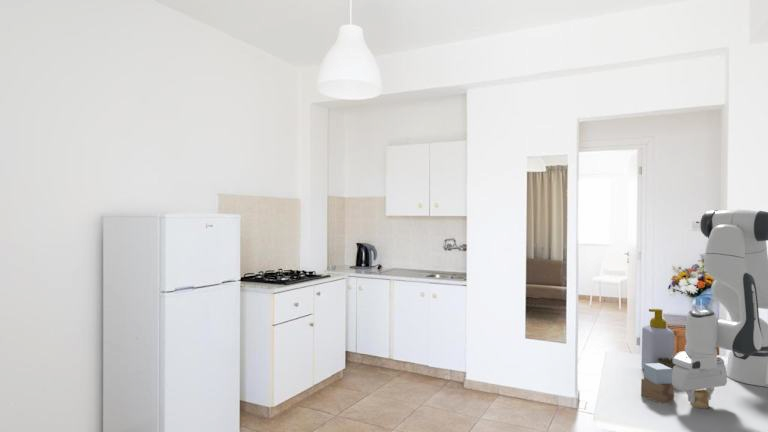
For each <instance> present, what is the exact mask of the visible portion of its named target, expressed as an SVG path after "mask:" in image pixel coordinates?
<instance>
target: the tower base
mask: <svg viewBox="0 0 768 432" xmlns="http://www.w3.org/2000/svg"><path fill="white" fill-rule="evenodd" d="M640 386H641V387H640V396H641V397H644V398H646V399H649V400H652V401H654V402H657V403H659V404H663V403H666V402H667V403H668V402H670V401H674V399H675V388H674V387H673V385H672V383H670V384H655V383H653V382H651V381H649V380H647V379H645V378H644V377H643V378H641V384H640Z"/></svg>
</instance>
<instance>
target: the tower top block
mask: <svg viewBox="0 0 768 432" xmlns="http://www.w3.org/2000/svg"><path fill="white" fill-rule="evenodd" d="M643 378H645V379H647V380H649V381H651V382H653V383H655V384H670V383H672V368H670V367H667V366H665V365H663V364H660V363H648V364H644V369H643Z"/></svg>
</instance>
